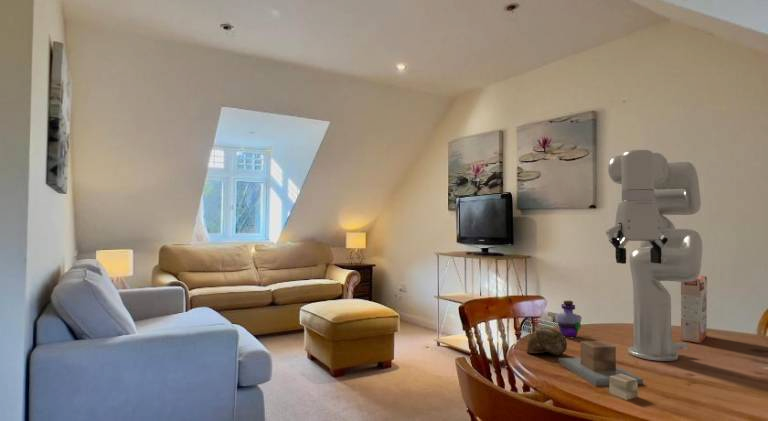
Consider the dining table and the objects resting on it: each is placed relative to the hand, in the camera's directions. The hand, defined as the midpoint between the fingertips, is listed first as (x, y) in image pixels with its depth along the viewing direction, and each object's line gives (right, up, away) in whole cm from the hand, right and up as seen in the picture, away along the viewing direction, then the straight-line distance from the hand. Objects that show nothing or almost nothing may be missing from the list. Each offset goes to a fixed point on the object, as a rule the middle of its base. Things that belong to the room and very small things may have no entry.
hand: (638, 263), depth 117 cm
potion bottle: (-3, -30, +37) cm, 48 cm away
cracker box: (+38, -30, +34) cm, 59 cm away
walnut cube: (-11, -27, -1) cm, 29 cm away
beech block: (-13, -28, -16) cm, 35 cm away
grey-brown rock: (-18, -29, +16) cm, 38 cm away
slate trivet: (-11, -28, -1) cm, 30 cm away
